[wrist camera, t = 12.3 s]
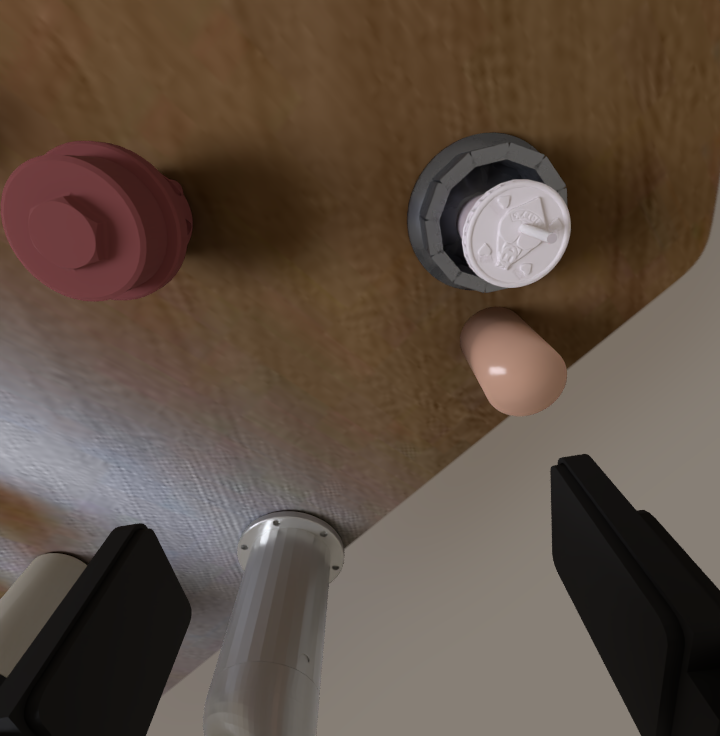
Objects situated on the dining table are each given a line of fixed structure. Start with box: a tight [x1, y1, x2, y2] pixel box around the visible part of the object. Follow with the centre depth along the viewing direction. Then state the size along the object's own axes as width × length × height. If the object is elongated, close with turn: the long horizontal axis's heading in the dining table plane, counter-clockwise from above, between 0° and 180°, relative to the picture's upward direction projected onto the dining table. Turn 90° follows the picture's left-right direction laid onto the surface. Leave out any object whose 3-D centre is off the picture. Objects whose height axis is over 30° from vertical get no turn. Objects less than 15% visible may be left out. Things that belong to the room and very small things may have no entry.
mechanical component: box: [1, 141, 193, 301], centre depth 30 cm, size 12×10×10 cm
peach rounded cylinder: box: [460, 307, 567, 416], centre depth 36 cm, size 6×6×9 cm
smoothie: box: [456, 179, 571, 288], centre depth 28 cm, size 6×6×14 cm
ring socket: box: [407, 133, 567, 293], centre depth 33 cm, size 12×12×5 cm
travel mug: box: [0, 553, 87, 686], centre depth 45 cm, size 8×8×18 cm
